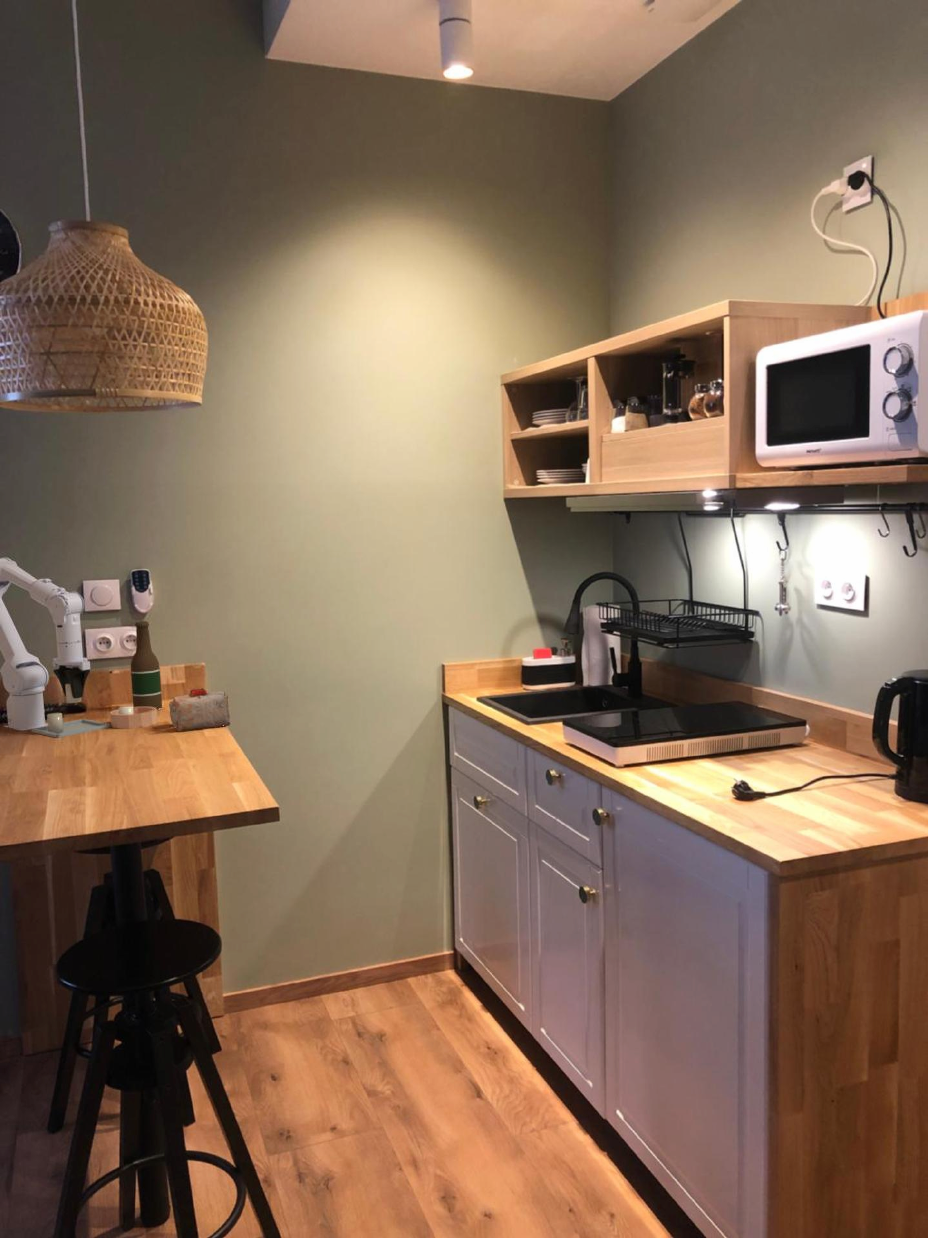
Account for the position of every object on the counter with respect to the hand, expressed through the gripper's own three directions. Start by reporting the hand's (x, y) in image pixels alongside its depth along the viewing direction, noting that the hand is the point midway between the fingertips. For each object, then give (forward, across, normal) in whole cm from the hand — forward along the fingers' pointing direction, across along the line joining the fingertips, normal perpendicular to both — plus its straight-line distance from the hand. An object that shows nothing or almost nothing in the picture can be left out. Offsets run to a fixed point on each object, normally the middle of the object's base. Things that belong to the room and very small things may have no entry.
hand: (73, 697), depth 255 cm
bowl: (+8, -7, -12) cm, 16 cm away
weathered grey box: (+9, -24, -20) cm, 32 cm away
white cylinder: (+8, +1, +5) cm, 9 cm away
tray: (+8, +1, +1) cm, 8 cm away
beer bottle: (+9, +9, -26) cm, 28 cm away
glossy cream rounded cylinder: (+1, 0, 0) cm, 1 cm away
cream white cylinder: (+8, -7, -10) cm, 14 cm away
